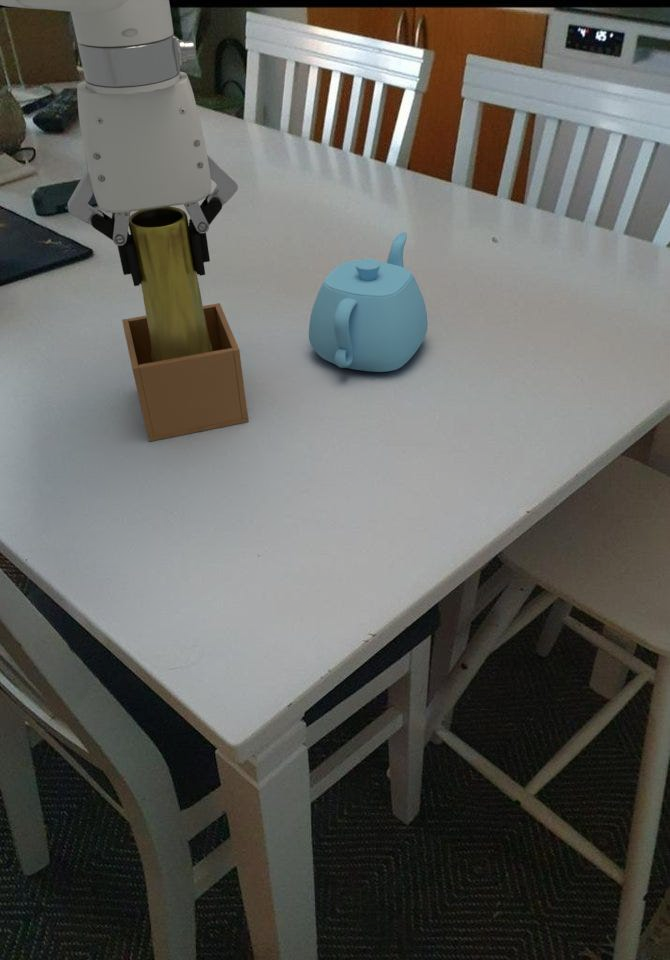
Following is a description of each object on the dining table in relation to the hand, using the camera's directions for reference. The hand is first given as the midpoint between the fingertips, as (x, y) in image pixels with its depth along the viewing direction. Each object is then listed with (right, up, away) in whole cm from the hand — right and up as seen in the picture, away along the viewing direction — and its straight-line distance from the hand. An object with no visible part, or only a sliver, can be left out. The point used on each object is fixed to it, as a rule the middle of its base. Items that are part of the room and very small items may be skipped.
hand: (167, 272), depth 76 cm
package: (+1, -12, +10) cm, 15 cm away
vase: (0, -7, +6) cm, 9 cm away
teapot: (+20, -4, +18) cm, 27 cm away
